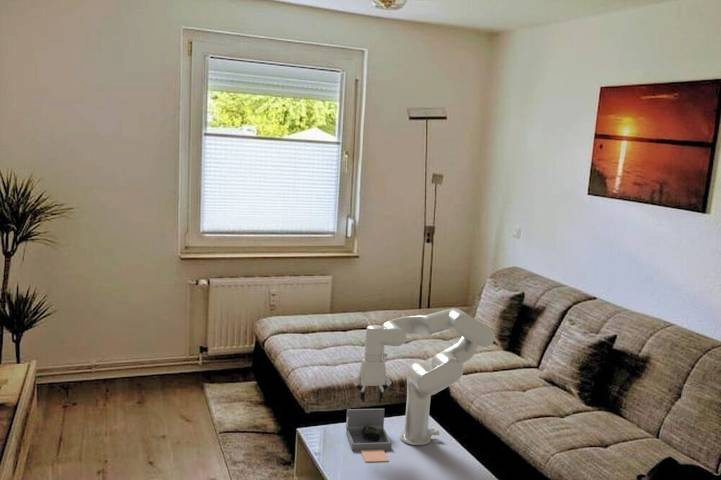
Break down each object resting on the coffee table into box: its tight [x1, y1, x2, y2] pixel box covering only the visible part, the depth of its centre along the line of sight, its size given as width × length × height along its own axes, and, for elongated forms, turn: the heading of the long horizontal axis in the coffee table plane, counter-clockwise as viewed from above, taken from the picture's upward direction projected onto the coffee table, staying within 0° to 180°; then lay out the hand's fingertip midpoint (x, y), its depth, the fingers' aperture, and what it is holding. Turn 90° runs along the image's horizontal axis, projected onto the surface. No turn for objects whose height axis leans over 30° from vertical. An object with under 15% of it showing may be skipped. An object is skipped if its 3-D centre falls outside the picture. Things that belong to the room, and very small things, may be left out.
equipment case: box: [345, 408, 392, 451], centre depth 244 cm, size 16×15×10 cm
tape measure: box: [361, 426, 381, 442], centre depth 246 cm, size 7×7×4 cm
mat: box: [360, 449, 390, 463], centre depth 232 cm, size 9×9×1 cm
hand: (371, 400), depth 241 cm, fingers open, 6 cm apart
